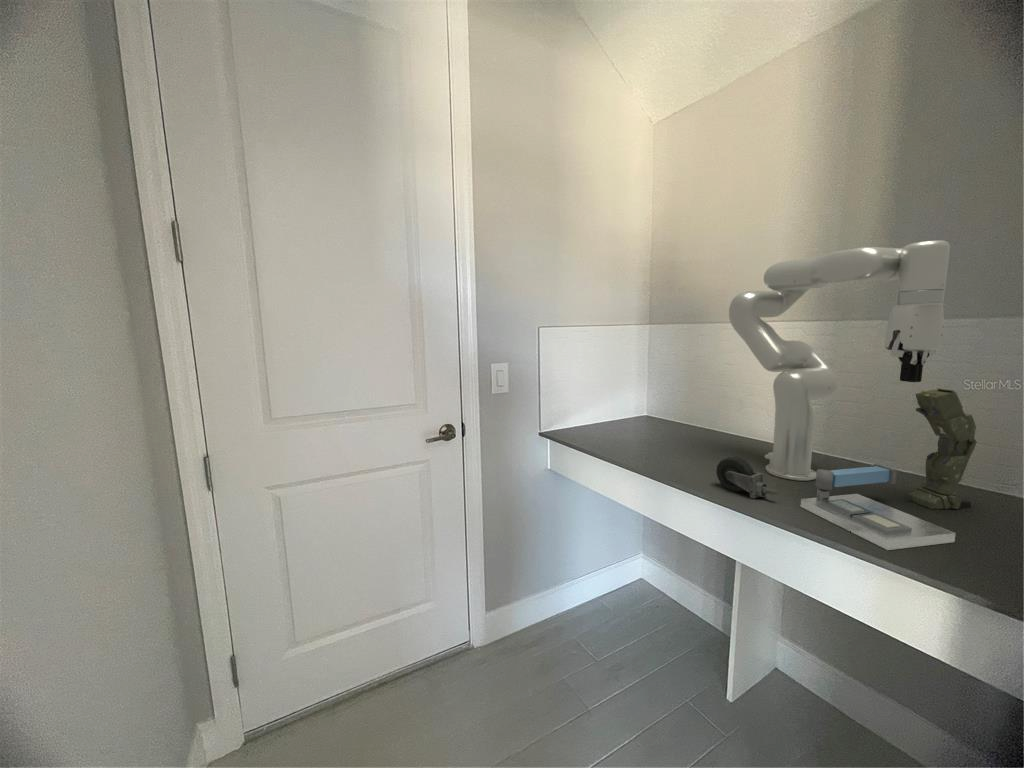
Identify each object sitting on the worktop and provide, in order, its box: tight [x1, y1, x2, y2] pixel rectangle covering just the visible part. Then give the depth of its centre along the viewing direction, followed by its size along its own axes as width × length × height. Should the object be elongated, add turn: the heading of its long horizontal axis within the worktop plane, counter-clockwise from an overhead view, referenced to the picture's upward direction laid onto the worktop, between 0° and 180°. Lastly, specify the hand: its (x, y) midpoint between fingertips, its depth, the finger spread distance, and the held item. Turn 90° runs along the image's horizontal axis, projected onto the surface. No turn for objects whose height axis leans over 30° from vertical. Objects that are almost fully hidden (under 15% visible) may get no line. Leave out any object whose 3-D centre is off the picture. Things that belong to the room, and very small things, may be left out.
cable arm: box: [814, 463, 898, 491], centre depth 99 cm, size 20×4×4 cm, turn 100°
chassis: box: [800, 487, 957, 551], centre depth 90 cm, size 20×16×5 cm
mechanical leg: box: [908, 387, 977, 510], centre depth 97 cm, size 14×7×30 cm, turn 92°
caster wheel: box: [715, 456, 779, 500], centre depth 107 cm, size 6×10×15 cm
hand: (910, 381), depth 91 cm, fingers closed
